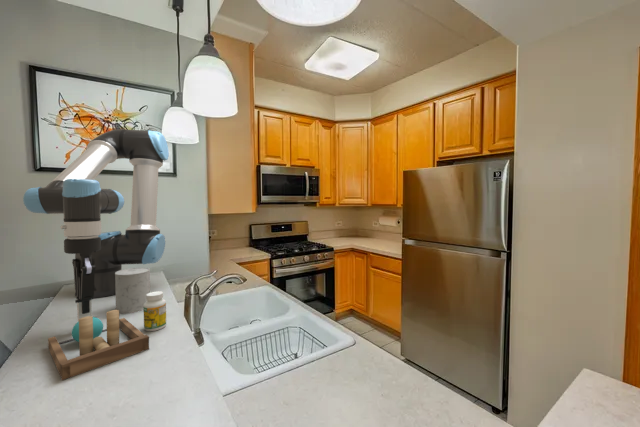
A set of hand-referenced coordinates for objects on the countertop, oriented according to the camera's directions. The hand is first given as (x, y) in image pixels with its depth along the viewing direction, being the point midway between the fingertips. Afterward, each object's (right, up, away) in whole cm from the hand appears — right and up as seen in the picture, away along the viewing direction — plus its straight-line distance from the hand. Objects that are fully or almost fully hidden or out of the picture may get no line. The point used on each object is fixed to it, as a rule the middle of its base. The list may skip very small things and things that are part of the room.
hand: (84, 323), depth 74 cm
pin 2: (+14, -2, -8) cm, 16 cm away
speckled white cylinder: (+2, -2, +17) cm, 17 cm away
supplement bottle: (+17, -2, +3) cm, 18 cm away
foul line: (+3, -2, -2) cm, 4 cm away
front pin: (+10, -1, -8) cm, 12 cm away
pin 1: (+10, -2, -12) cm, 16 cm away
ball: (+6, +1, -6) cm, 8 cm away
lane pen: (+11, -2, -9) cm, 14 cm away
